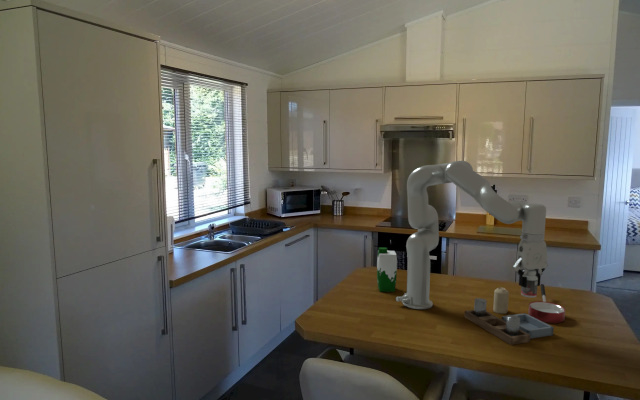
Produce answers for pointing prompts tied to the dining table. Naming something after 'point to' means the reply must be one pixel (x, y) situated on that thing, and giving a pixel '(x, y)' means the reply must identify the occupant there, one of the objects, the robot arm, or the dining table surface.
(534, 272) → the pill bottle
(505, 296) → the candle
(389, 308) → the dining table surface
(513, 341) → the socket rack
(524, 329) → the tray
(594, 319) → the dining table surface
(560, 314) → the frying pan
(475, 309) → the peg
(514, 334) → the peg
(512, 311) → the dining table surface
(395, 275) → the milk carton
